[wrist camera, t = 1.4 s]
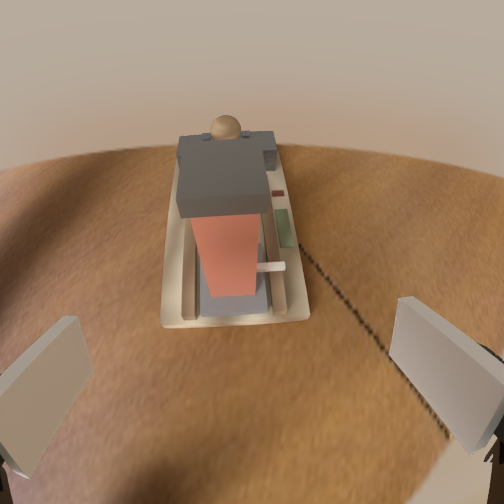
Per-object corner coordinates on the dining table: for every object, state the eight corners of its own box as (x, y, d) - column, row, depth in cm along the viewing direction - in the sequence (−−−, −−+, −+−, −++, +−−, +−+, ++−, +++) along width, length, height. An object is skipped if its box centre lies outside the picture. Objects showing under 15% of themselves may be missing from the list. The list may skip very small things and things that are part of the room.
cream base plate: (164, 328, 27) (156, 319, 25) (178, 165, 39) (174, 150, 37) (307, 319, 28) (312, 310, 26) (278, 159, 40) (279, 144, 38)
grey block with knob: (180, 176, 36) (174, 148, 32) (183, 156, 38) (178, 129, 34) (275, 171, 37) (278, 142, 33) (271, 151, 39) (273, 123, 35)
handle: (201, 316, 26) (162, 217, 14) (201, 251, 30) (175, 134, 18) (286, 311, 27) (319, 208, 14) (277, 247, 31) (295, 128, 18)
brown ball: (211, 151, 33) (208, 127, 30) (212, 134, 35) (209, 111, 32) (241, 149, 34) (241, 125, 30) (240, 132, 35) (239, 109, 32)
